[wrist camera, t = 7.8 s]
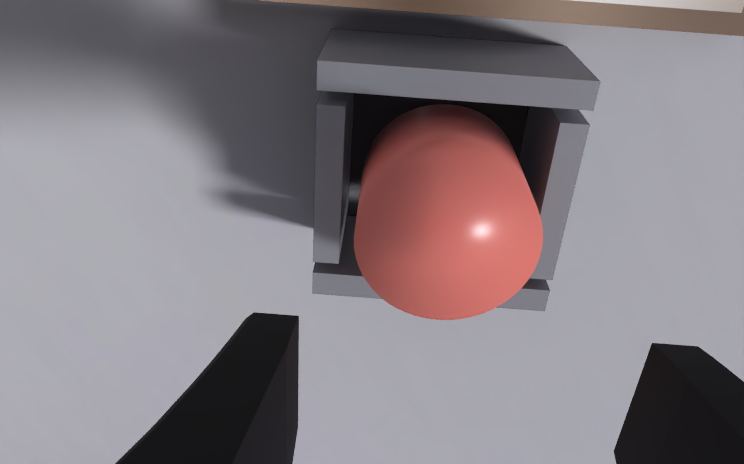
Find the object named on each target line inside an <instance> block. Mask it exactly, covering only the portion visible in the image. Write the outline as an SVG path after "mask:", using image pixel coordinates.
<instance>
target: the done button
mask: <svg viewBox="0 0 744 464" xmlns="http://www.w3.org/2000/svg"><path fill="white" fill-rule="evenodd" d="M542 244H543V227H542V221H541V217H540V214H539V211H538V208H537V205H536V203H535V200H534V198H533V195H532V193H531V191H530V188H529V186H528V183H527V181H526V178H525V176H524V173H523V171H522V168H521V166H520V163H519V161H518V158H517V156H516V153H515V151H514V149H513V146H512V144H511V142H510V140H509V139H508V137H507V136H506V134H505V133H504V132H503V130H502V129H501V128H500V127H499V126H498V125H497V124H496V123H494V122H493V121H492V120H491V119H489V118H488V117H486V116H485V115H483V114H481V113H480V112H477V111H475V110H472V109H470V108H467V107H463V106H459V105H452V104H435V105H427V106H423V107H419V108H416V109H413V110H410V111H408V112H406V113H404V114H402V115H400V116H398V117H397V118H395V119H394V120H393V121H391V122H390V123H389V124H387V125H386V126H385V127H384V128H383V129H382V130H381V131H380V133H379V134H378V135H377V136H376V138H375V139H374V141H373V142H372V144H371V146H370V148H369V150H368V152H367V155H366V158H365V161H364V166H363V173H362V181H361V188H360V195H359V203H358V210H357V217H356V225H355V232H354V250H355V256H356V260H357V263H358V266H359V269H360V271H361V273H362V275H363V277H364V278H365V280H366V281H367V283H368V284H369V286H370V287H371V288H372V289H373V290H374V291H375V292H376V293H377V294H378V295H379V296H380V297H381V298H382V299H384V300H385V301H386V302H388V303H389V304H391V305H392V306H394V307H396V308H398V309H400V310H402V311H404V312H407V313H409V314H412V315H415V316H419V317H423V318H429V319H437V320H453V319H462V318H467V317H472V316H476V315H479V314H482V313H485V312H487V311H489V310H492V309H494V308H496V307H497V306H499V305H501V304H503V303H504V302H506V301H507V300H508V299H510V298H511V297H513V296H514V295H515V294H516V293H517V292H518V291H519V290H520V289H521V288H522V287H523V286H524V284H525V283H526V282H527V281H528V279H529V278H530V276H531V275H532V273H533V272H534V270H535V268H536V265H537V263H538V261H539V258H540V254H541V251H542Z"/></svg>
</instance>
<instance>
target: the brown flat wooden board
mask: <svg viewBox="0 0 744 464" xmlns="http://www.w3.org/2000/svg"><path fill="white" fill-rule="evenodd" d="M260 1H273V2H287V3H301V4H314V5H328V6H341V7H355V8H369V9H382V10H396V11H409V12H423V13H437V14H450V15H464V16H478V17H491V18H505V19H518V20H532V21H546V22H559V23H573V24H586V25H600V26H614V27H627V28H641V29H655V30H668V31H682V32H695V33H709V34H723V35H736V36H744V0H260Z"/></svg>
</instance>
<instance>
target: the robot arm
mask: <svg viewBox="0 0 744 464" xmlns="http://www.w3.org/2000/svg"><path fill="white" fill-rule="evenodd" d="M298 339H299V316H292V315H279V314H266V313H253V314H251V315H250V316H249V317H247V318H246V319H245V320H244V321H243V323H242V324H241V325H240V327H239V328H238V329H237V331H236V332H235V333H234V334H233V336H232V337H231V338H230V339H229V341H228V342H227V343H226V344H225V346H224V347H223V348H222V349H221V351H220V352H219V353H218V354H217V355H216V357H215V358H214V359H213V360H212V361H211V362H210V364H209V365H208V366H207V367H206V368H205V369H204V371H203V372H202V373H201V374H200V375H199V376H198V378H197V379H196V380H195V381H194V382H193V383H192V384H191V385H190V387H189V388H188V389H187V390H186V391H185V392H184V393H183V394H182V395H181V396H180V398H179V399H178V400H177V401H176V402H175V403H174V404H173V405H172V406H171V407H170V408H169V410H168V411H167V412H166V413H165V414H164V415H163V416H162V417H161V418H160V419H159V420H158V422H157V423H156V424H155V425H154V426H153V427H152V428H151V429H150V430H149V431H148V432H147V433H146V434H145V435H144V436H143V437H142V438H141V439H140V440H139V441H138V442H137V443H136V444H135V445H134V446H133V447H132V448H131V449H130V450H129V451H128V452H127V453H126V454H125V455H124V456H123V457H122V458H121V459H120V460H119V461H118V462H117V463H116V464H292V462H293V455H294V449H295V442H296V435H297V429H298ZM614 454H615V459H616V463H617V464H744V382H743V381H742V380H741V379H739V378H738V377H737V376H736V375H734V374H733V373H732V372H731V371H729V370H728V369H727V368H726V367H724V366H723V365H722V364H721V363H719V362H718V361H717V360H715V359H714V358H713V357H712V356H710V355H709V354H707V353H706V352H705V351H703V350H702V349H701V348H699V347H697V346H684V345H671V344H658V343H652V345H651V348H650V351H649V353H648V356H647V359H646V362H645V365H644V368H643V370H642V373H641V376H640V379H639V382H638V384H637V387H636V390H635V393H634V396H633V399H632V401H631V404H630V407H629V410H628V413H627V416H626V418H625V421H624V424H623V427H622V430H621V432H620V435H619V438H618V441H617V444H616V447H615V449H614Z"/></svg>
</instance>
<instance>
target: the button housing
mask: <svg viewBox="0 0 744 464" xmlns="http://www.w3.org/2000/svg"><path fill="white" fill-rule="evenodd" d="M599 85H600V81H599V80H598V79H597V78H596V76H595V75H594V74H593V73H592V72H591V71H590V70H589V69H588V68H587V67H586V66H585V65H584V64H583V63H582V62H581V61H580V60H579V59H578V58H577V57H576V56H575V55H574V53H573V52H572V51H571V50H570V49H569V48H568V47H567V46H560V45H546V44H533V43H519V42H506V41H492V40H478V39H465V38H451V37H438V36H424V35H411V34H397V33H383V32H370V31H356V30H343V29H332V30H331V32H330V34H329V36H328V38H327V40H326V43H325V45H324V47H323V49H322V51H321V53H320V55H319V58H318V60H317V90H320V91H321V93H320V96H319V99H318V101H317V104H316V141H315V190H314V238H313V262H315V265H314V270H313V287H312V294H325V295H338V296H351V297H364V298H377V299H382V298H381V297H380V296H379V295H378V294H377V293H376V292H375V291H374V290H373V289H372V288H371V287H370V286H369V284H368V283H367V281H366V280H365V278H364V277H363V275H362V273H361V271H360V269H359V266H358V263H357V260H356V256H355V250H354V232H355V225H356V217H357V216H349V215H347V210H348V200H349V180H350V160H351V140H352V120H353V100H354V93H361V94H374V95H388V96H401V97H414V98H428V99H441V100H455V101H468V102H482V103H495V104H509V105H522V106H529V111H528V116H527V121H526V126H525V132H524V137H523V142H522V148H521V153H520V158H519V163H520V166H521V168H522V171H523V173H524V176H525V178H526V181H527V183H528V186H529V188H530V191H531V193H532V195H533V198H534V200H535V203H536V205H537V208H538V211H539V214H540V217H541V221H542V227H543V244H542V251H541V254H540V258H539V261H538V263H537V265H536V268H535V270H534V272H533V273H532V275H531V276H530V278H529V279H528V281H527V282H526V283H525V284H524V286H523V287H522V288H521V289H520V290H519V291H518V292H517V293H516V294H515V295H514V296H513V297H511V298H510V299H508V300H507V301H506V302H504V303H503V304H501V305H499V306H497V307H496V308H508V309H521V310H535V311H545V308H546V304H547V300H548V296H549V292H550V290H549V287H548V284H547V281H546V280H552V279H553V275H554V271H555V267H556V263H557V259H558V254H559V250H560V246H561V242H562V238H563V234H564V230H565V226H566V221H567V217H568V213H569V209H570V205H571V201H572V197H573V192H574V188H575V184H576V180H577V176H578V172H579V168H580V163H581V159H582V155H583V151H584V147H585V143H586V139H587V134H588V130H589V126H590V125H589V123H588V122H587V121H586V119H585V118H584V117H583V115H582V114H581V113H580V111H579V110H589V111H593V110H594V105H595V101H596V97H597V93H598V89H599Z"/></svg>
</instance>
